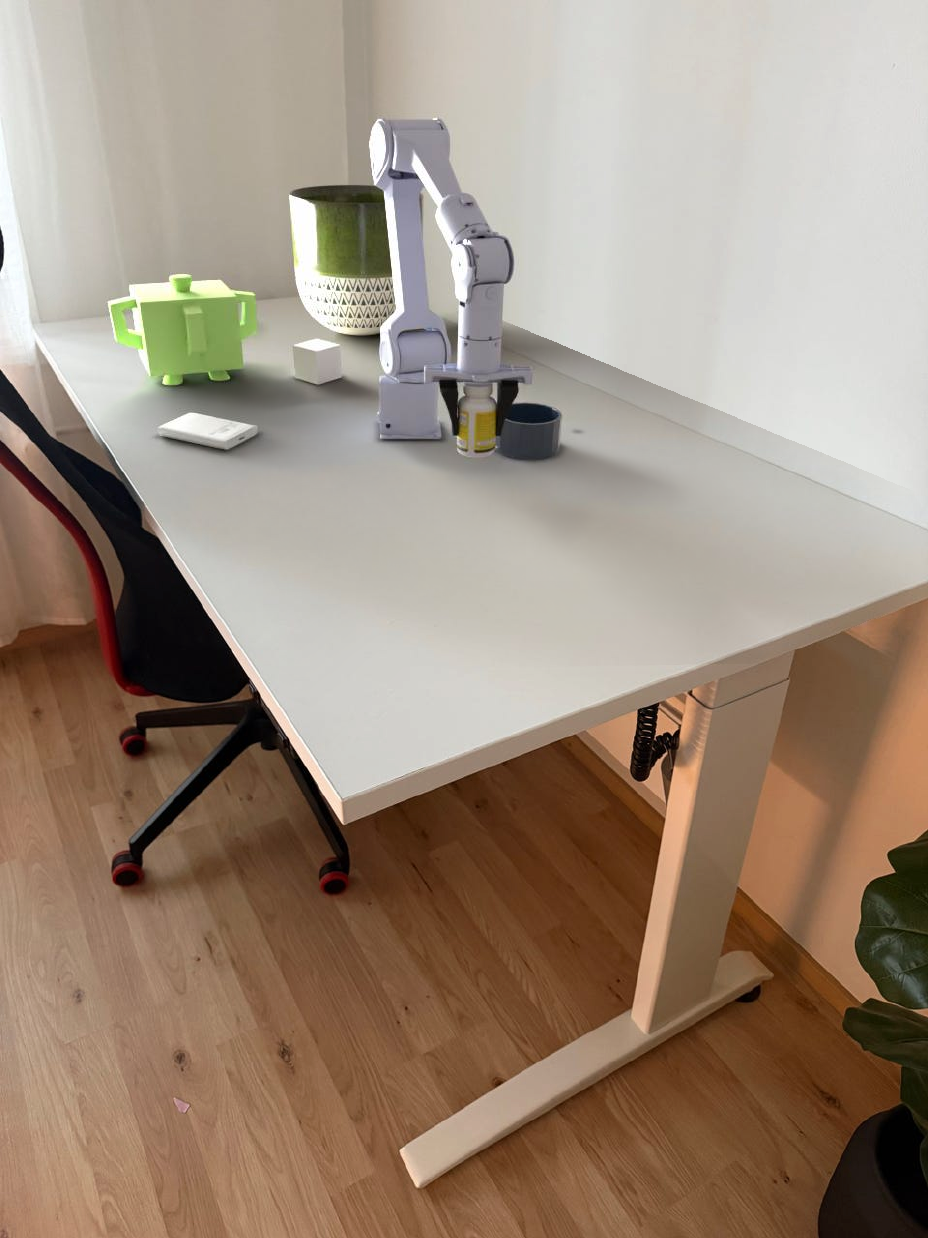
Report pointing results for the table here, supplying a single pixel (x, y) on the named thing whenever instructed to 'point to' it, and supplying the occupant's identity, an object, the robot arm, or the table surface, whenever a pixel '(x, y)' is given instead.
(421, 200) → the planter
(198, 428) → the hard drive
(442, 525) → the table surface
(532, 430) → the dark grey hollow cylinder
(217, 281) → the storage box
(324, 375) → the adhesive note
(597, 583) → the table surface
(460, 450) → the supplement bottle
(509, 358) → the table surface
